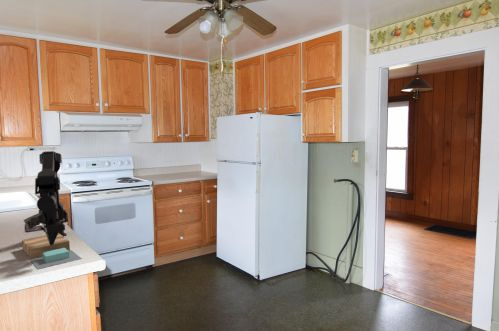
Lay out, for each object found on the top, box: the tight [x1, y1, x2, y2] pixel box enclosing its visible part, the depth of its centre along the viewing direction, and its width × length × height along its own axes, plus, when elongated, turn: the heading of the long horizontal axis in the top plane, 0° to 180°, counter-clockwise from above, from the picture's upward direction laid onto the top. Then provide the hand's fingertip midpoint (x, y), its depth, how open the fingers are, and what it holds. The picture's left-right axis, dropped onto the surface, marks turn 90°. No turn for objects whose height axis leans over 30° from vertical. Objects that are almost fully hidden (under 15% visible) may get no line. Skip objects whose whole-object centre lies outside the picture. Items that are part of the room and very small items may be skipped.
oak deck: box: [21, 233, 71, 259], centre depth 148 cm, size 16×14×4 cm
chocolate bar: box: [25, 224, 43, 233], centre depth 183 cm, size 9×1×18 cm
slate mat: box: [29, 249, 82, 270], centre depth 137 cm, size 13×15×1 cm
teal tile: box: [42, 248, 69, 263], centre depth 138 cm, size 6×8×2 cm
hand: (51, 244), depth 140 cm, fingers closed
